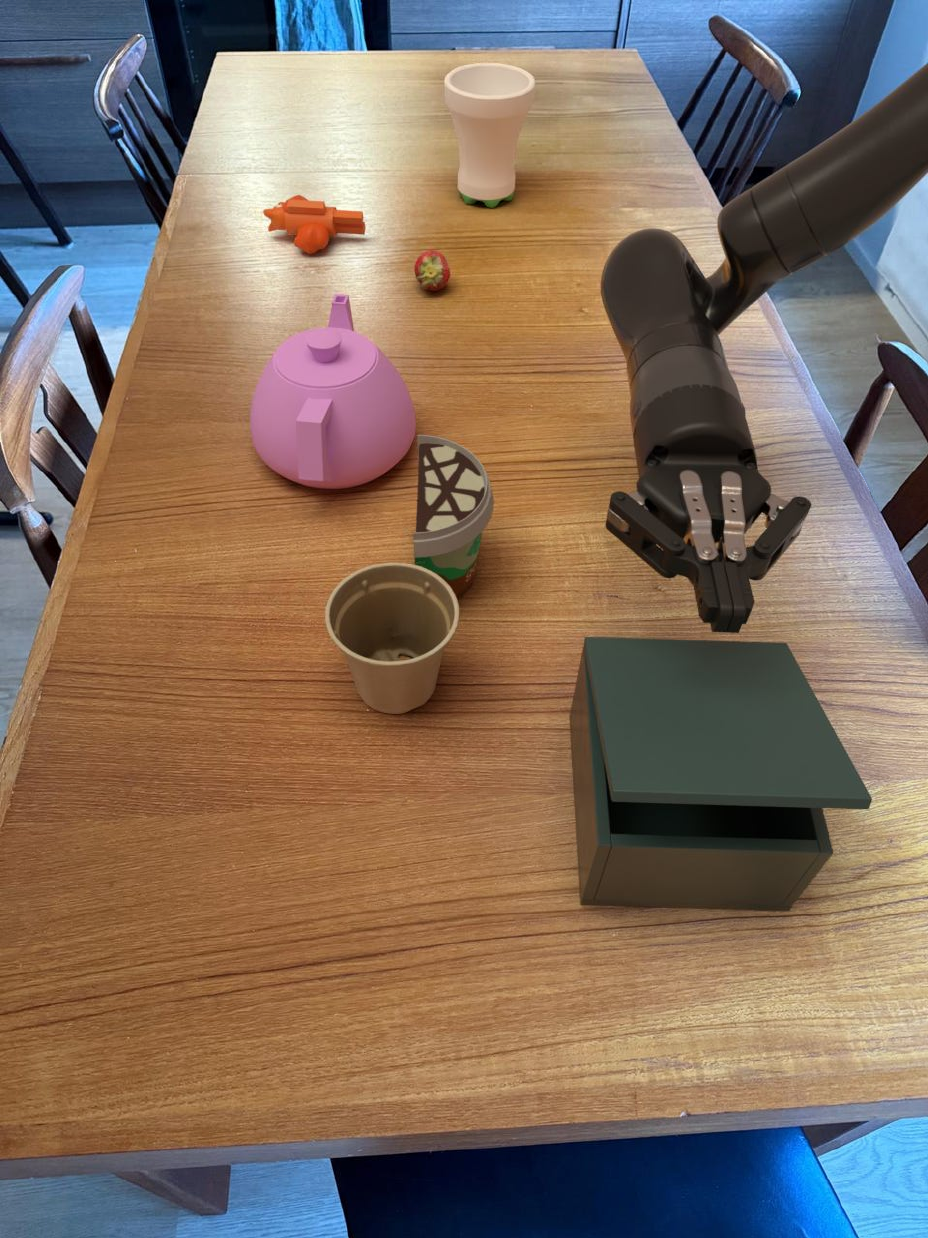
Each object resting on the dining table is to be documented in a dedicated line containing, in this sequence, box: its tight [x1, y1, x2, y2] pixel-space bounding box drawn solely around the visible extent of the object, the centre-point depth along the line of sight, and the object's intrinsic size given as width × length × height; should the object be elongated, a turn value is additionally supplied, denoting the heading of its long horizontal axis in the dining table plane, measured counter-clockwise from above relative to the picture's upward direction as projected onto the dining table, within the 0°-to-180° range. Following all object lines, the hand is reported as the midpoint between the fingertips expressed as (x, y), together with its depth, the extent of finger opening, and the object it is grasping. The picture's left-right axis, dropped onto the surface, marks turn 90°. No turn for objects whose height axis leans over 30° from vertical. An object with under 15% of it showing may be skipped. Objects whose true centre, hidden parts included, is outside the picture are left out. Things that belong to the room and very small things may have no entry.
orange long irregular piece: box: [262, 194, 366, 255], centre depth 110 cm, size 5×8×12 cm
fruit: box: [413, 249, 451, 292], centre depth 104 cm, size 4×6×5 cm
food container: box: [412, 434, 495, 600], centre depth 73 cm, size 12×6×10 cm, turn 0°
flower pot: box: [324, 561, 460, 715], centre depth 66 cm, size 9×9×9 cm
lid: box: [583, 636, 873, 810], centre depth 54 cm, size 16×14×1 cm
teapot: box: [249, 293, 417, 490], centre depth 82 cm, size 22×16×12 cm
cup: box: [443, 62, 536, 209], centre depth 115 cm, size 11×11×14 cm
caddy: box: [569, 645, 834, 912], centre depth 60 cm, size 15×14×9 cm
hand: (728, 623), depth 50 cm, fingers closed
